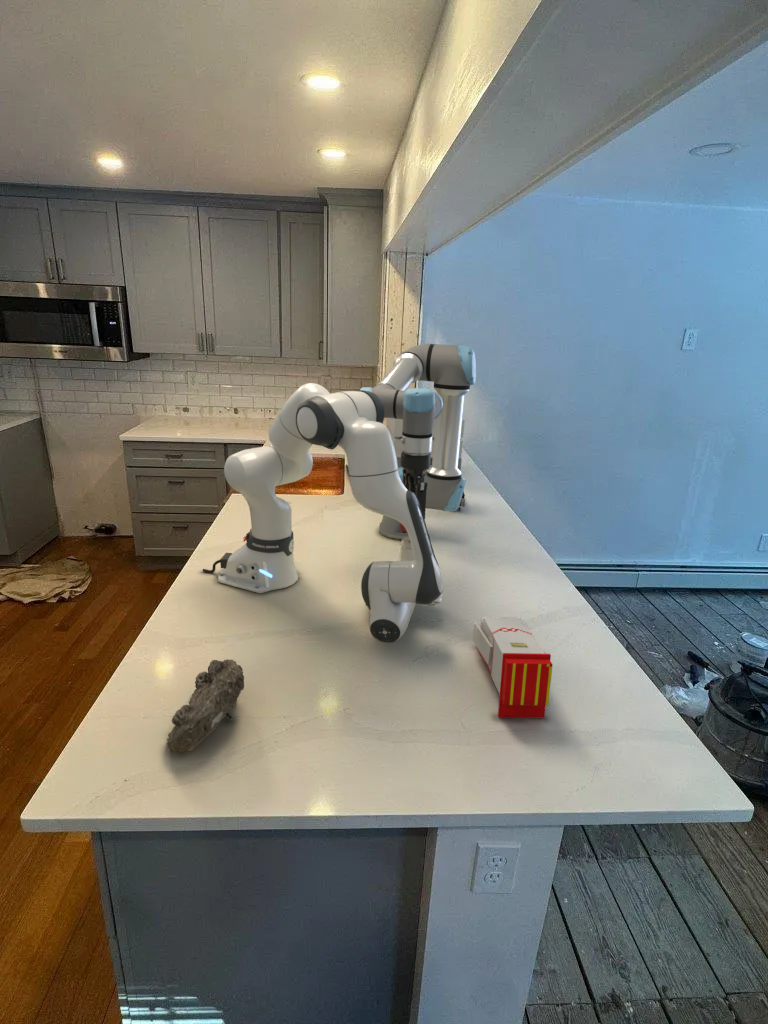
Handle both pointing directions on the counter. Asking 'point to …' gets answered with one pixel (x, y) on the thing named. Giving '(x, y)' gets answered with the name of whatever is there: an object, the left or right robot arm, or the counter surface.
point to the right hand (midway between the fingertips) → (410, 537)
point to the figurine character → (462, 501)
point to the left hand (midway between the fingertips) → (408, 575)
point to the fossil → (206, 705)
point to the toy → (515, 666)
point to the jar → (406, 550)
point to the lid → (402, 528)
